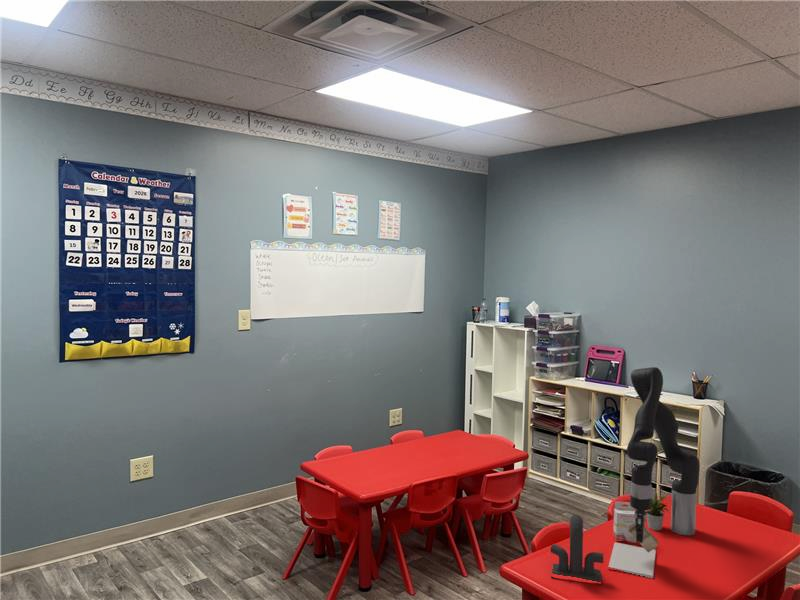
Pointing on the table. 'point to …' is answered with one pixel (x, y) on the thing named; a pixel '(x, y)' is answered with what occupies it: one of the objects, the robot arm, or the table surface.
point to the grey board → (633, 560)
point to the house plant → (656, 513)
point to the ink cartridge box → (623, 521)
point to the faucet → (577, 555)
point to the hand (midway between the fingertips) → (639, 539)
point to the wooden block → (645, 538)
